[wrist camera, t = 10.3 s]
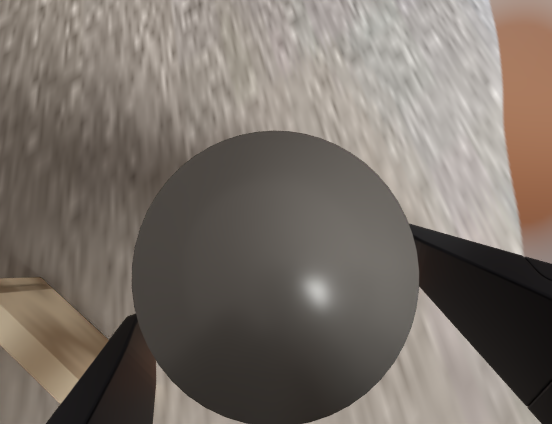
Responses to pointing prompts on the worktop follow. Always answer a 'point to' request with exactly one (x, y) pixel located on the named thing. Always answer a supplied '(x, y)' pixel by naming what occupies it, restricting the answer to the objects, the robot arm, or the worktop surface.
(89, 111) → the worktop surface
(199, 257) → the cream spice jar
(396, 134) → the worktop surface
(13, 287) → the birch stall
